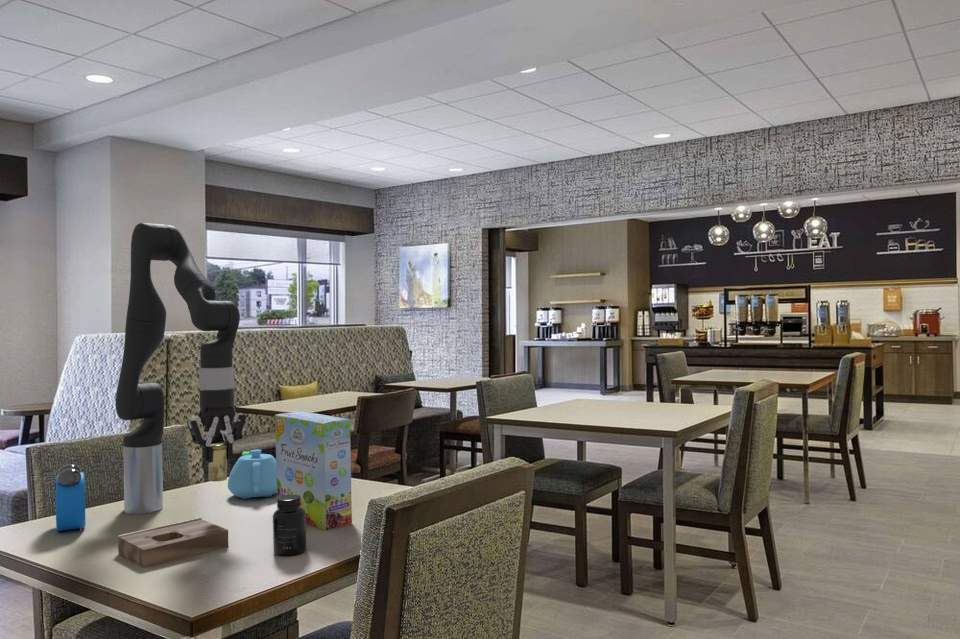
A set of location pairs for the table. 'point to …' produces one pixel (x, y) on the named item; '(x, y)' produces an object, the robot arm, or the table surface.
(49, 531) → the table surface
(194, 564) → the table surface
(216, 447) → the brass cylinder plug
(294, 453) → the snack box
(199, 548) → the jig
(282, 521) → the supplement bottle
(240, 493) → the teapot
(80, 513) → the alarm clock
